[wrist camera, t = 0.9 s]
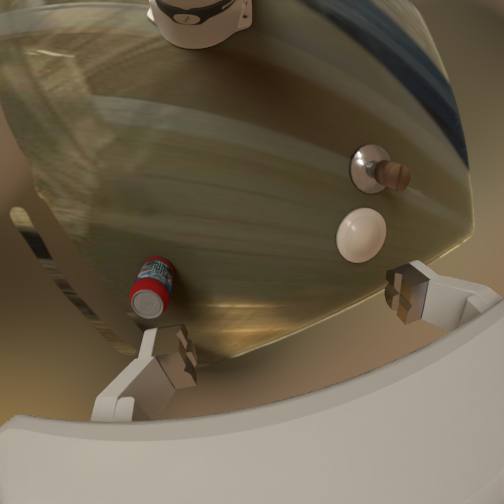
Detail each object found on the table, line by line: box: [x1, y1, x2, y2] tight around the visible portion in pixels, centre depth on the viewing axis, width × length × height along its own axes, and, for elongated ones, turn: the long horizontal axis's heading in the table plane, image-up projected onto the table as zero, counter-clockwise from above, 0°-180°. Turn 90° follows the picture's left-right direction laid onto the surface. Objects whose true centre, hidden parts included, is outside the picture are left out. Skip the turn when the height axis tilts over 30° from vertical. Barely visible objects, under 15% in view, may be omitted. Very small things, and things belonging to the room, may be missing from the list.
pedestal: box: [349, 144, 391, 194], centre depth 47 cm, size 10×10×5 cm
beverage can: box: [130, 257, 174, 319], centre depth 46 cm, size 7×7×12 cm
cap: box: [374, 160, 410, 191], centre depth 42 cm, size 5×5×6 cm
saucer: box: [336, 207, 386, 263], centre depth 55 cm, size 12×12×1 cm
